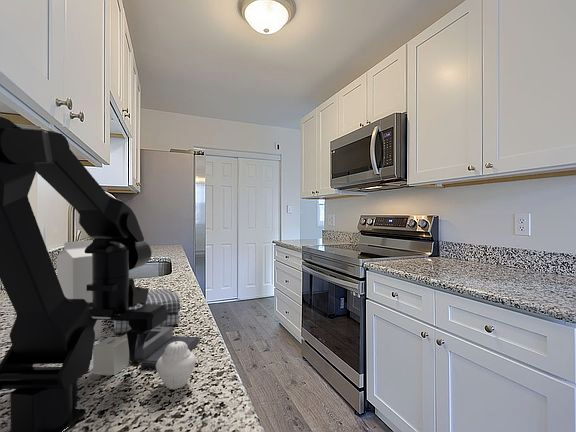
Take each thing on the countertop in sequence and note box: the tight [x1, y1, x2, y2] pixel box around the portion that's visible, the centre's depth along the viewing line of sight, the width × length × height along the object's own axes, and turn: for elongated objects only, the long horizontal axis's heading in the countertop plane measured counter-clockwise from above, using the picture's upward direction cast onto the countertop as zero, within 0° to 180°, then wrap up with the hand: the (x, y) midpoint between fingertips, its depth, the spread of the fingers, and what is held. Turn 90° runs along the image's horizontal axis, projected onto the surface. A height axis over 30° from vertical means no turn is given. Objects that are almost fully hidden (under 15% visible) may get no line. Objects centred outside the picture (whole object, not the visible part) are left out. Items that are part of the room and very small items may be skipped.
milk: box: [56, 239, 102, 340], centre depth 67 cm, size 6×6×22 cm
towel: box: [112, 288, 181, 334], centre depth 80 cm, size 15×18×8 cm
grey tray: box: [121, 326, 174, 362], centre depth 63 cm, size 11×8×2 cm
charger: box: [92, 336, 130, 376], centre depth 55 cm, size 4×4×5 cm
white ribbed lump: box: [155, 341, 197, 390], centre depth 50 cm, size 6×6×7 cm
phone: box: [140, 335, 201, 370], centre depth 61 cm, size 12×6×1 cm, turn 173°
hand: (111, 362), depth 54 cm, fingers open, 9 cm apart
